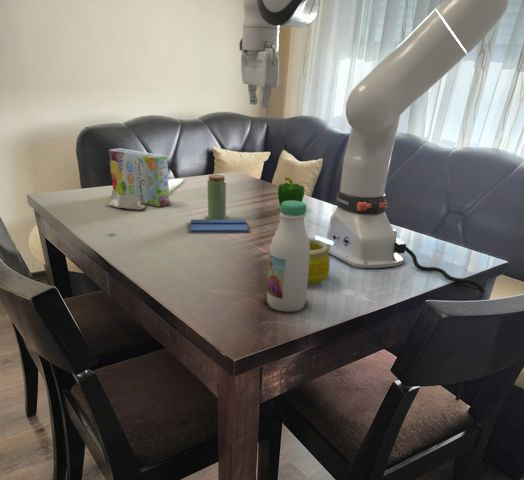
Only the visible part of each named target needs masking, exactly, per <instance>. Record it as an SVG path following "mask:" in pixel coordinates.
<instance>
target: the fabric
mask: <svg viewBox="0 0 524 480" xmlns="http://www.w3.org/2000/svg"><path fill="white" fill-rule="evenodd" d="M111 197H112V199H111V200H110V202H109V203H108V206H110V207H114V208H116V209H117V208H118V209H127V210H136V211H137V210H142V209H144V208H146V205H141V204H142V203H141V202H140V199H139V196H138V194H132V195H124V196H123V195H119V194H118V192H117V191H113V190H111Z"/></svg>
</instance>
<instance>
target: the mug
mask: <svg viewBox="0 0 524 480" xmlns="http://www.w3.org/2000/svg"><path fill="white" fill-rule="evenodd" d="M308 239H309V243H310V260H309V271H308V282H307V286H313V285H318V284H320V283H323V282H324V281H326V280H327V278H328V277H329V273H330V253H329V252H328V251H329V246H328V245H327V244H326V243H325V242H323V241H320V240H317V239H315V238H312V237H308Z"/></svg>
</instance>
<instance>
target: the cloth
mask: <svg viewBox="0 0 524 480" xmlns="http://www.w3.org/2000/svg"><path fill="white" fill-rule="evenodd" d="M190 232H191V233H249V228H248V224H247V220H246V219H224V220H210V219H190Z"/></svg>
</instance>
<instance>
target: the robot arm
mask: <svg viewBox="0 0 524 480" xmlns="http://www.w3.org/2000/svg"><path fill="white" fill-rule="evenodd" d="M242 3H243V5H242V7H243V11H244V20H243V24H242V37H241V38H240V40H239V43H238V49H239V51H240V52H241V54H240V67H241V69H240V73H241V80H242V83H243V84H244V85H247V91H248V96H249V98H248V99H249V104H250V105H257V104H258V96H257V90H258V87H259V88H261V98H260V100H259V103H260V104H259V107H260V108H262V109H268V108H269V103H270V98H271V94H272V89H278V86H279V81H280V57H279V53H278V52H279V39H280V38H279V35H280V26H284V27H289V28H296V29H297V28H304V27H307V26H309V25H310V24H312V22H313V21H314V20H315V19H316V17H317V16H318V13H319V11H320V6H321V0H243V2H242ZM508 6H509V0H443V1H442V2H440V3H439V4H438V5H437V6H436V8H435V9H434V10H433V11H431V13H429V14H428V16H427V17H426V18H425V19H424V20H423V21H422V22H420V24H419V25H418V26H417V27H416V28H415V29H414V30H413V31H412V32H411V33H410V34H409V35H408V36H407V37H406V38H405V39H404V40H403V41H402V42H401V43H400V44H398V46H397V47H396V48H395V49H394V50H392V51H391V52H390V53H389V54H387V56H386V57H385V58H383V60H382V61H380V62H379V63H378V64H376V66H375V67H374V68H373V69H372V70H371V71H370V72H369V73H368V74H367V75H366V76H364V78H362V80H360V81H359V82H358V83H357V85H355V86H354V87H353V88H352V90H351V91H350V93H349V95H348V97H347V99H346V103H345V117H346V120H347V123H348V124H349V127H351V129H350V131H349V132H350V133H349V137H348V141H347V146H346V149H345V153H344V155H343V163H342V171H341V178H340V185H339V190H338V191H337V195H336V202H335V203H336V208H335V210H334V211H333V213H332V215H331V216H330V218H329V223H328V229H327V233H326V238H325V237H321V236H319V235H315V237H314V239H317V240H320V241H323V242H325V243H326V244H327V245H328V246H329V251H328V253H329V255H330V254H331V255H332V256H334V257H335V258H338V259H339V260H340V261H343V262H345V263H347V264H349V265H350V266H352V267H355V268H360V269H361V268H362V269H380V268H382V269H383V268H390V267H396V266H400V265H402V264H403V263H404V258H403V257H402V256H401V255H400V254H405V253H407V254H408V255H410V257H411V259H412V263H413V265H414V267H416V269H418V270H420V271H424V272H437V273H440V274H441V275H442V276H443V277H444V278H445V279H447V280H449V281H451V282H455V283H462V284H463V283H464V284H470V285H472V286H475V287H476V288H477V289H478V291H479V292H480V293H483V294H485V293H486V290H485V289H484V287H483V285H482V284H480V283H479V282H478V281H476V280H473V279H470V278H462V277H454V276H452V275H450V274H449V273H448V272H447V271H446V270H445V269H443V268H440V267H436V266H423V265H421V264H419V262H418V259H417V256H416V254H415V253H414V252H413V251H412V250H411V249H410V248H408V247H407V243H406V242H405V241H403V240H402V239H401V238H400V237H397V235H398V234H397V230H396V229H393V227H392V225H391V223H390V221H389V219H388V217H387V215H386V211H387V208H388V207H389V206H388V204H389V202H387V199H386V194H385V191H386V186H387V179H388V175H389V174H388V173H389V169H390V163H391V158H392V155H393V149H394V147H395V142H396V141H395V140H396V136H397V133H398V128H399V124H400V119H401V116H402V115H403V113H404V112H406V111H407V110H408V109H409V108H410V107H411V106H412V105H413V104H414V103H416V102H417V101H418V100H419V99H420V98H421V97H422V96H424V95H425V94H426V92H428V91H429V90H430V89H431V88H432V87H434V86H435V85H436V84H437V83H438V82H439V81H440V80H441V79H442V78H443V77H444V76H445V75H446V74H448V73H449V71H451V70H452V69H453V68H454V67H456V65H458V63H460V62H461V61H463V59H464V58H465V57H466V56H467V55H468V54H469V53H470V52H471V51H472V50H474V48H476V46H478V44H480V42H482V40H483V39H484V38H485V37H486V36H487V35H488V34H489V33H490V32H491V31H492V30H493V28H495V26H496V25H497V24H498V22H499V21H500V20H501V18H502V17H503V16H504V14H505V13H506V12H507V9H508ZM465 384H466V381H465V382H464V383H461V382H460V383H459V386H458V389H457V392H456V395H455V399H454V400H455V401H457V402H459V401H460V398H461V395H462V392H463V389H464V386H465Z"/></svg>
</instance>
